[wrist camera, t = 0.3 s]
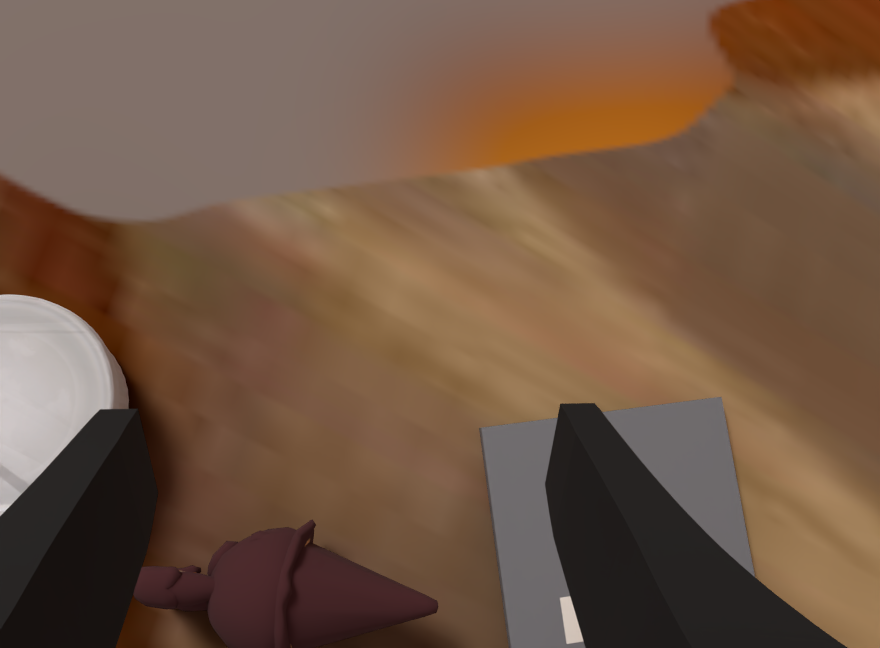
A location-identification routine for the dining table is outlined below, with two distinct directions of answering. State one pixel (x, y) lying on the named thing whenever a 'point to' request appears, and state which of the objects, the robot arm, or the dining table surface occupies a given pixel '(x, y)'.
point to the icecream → (283, 592)
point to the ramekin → (47, 387)
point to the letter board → (528, 521)
